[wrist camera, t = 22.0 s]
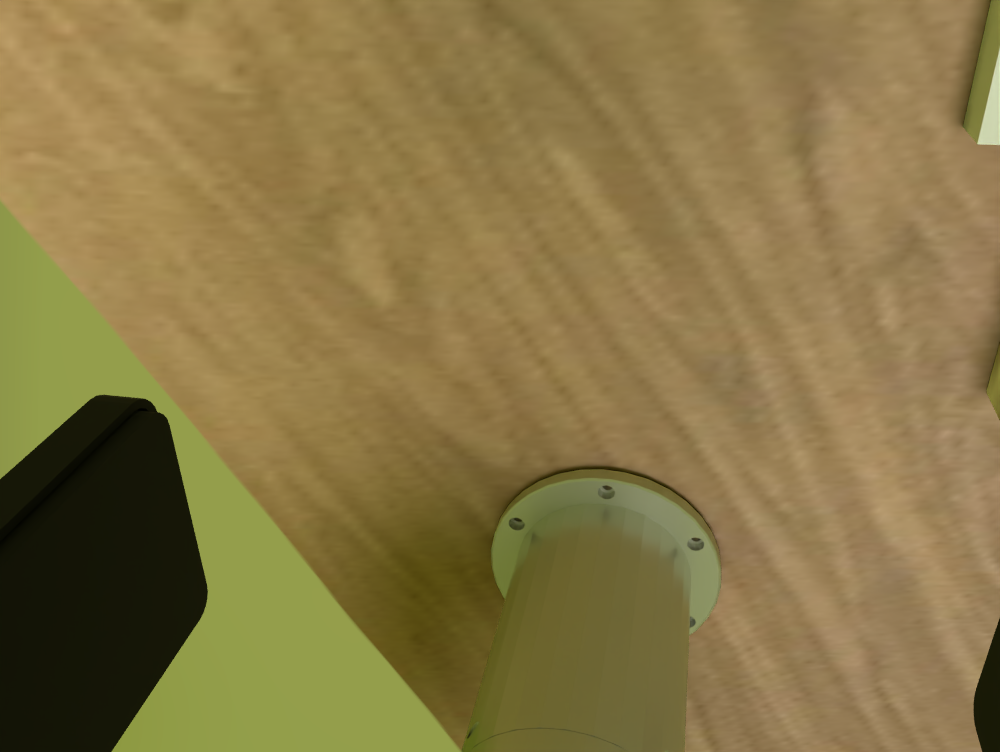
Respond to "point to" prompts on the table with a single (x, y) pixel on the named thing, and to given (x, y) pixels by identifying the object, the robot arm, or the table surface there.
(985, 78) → the tray
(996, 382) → the stand
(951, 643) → the table surface
